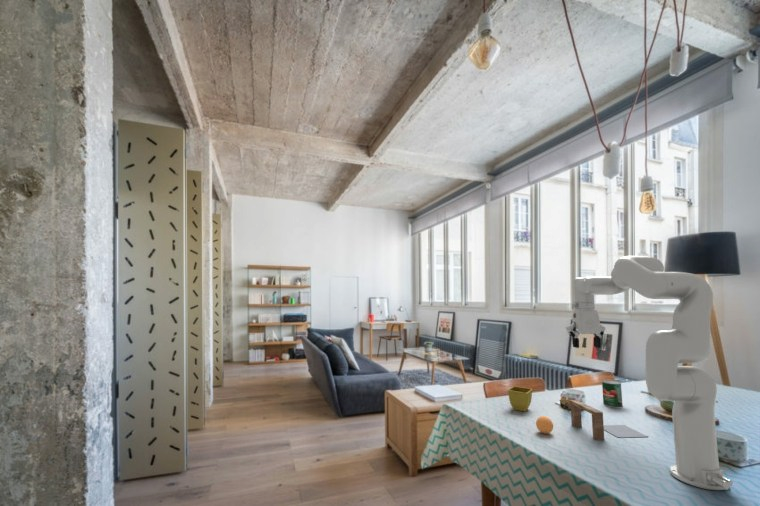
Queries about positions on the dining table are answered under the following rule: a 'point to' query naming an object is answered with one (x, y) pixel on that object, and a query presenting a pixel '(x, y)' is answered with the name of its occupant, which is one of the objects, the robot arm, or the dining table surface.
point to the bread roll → (565, 403)
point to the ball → (544, 424)
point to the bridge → (596, 418)
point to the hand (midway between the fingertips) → (586, 347)
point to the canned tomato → (612, 393)
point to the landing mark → (622, 431)
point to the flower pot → (520, 398)
